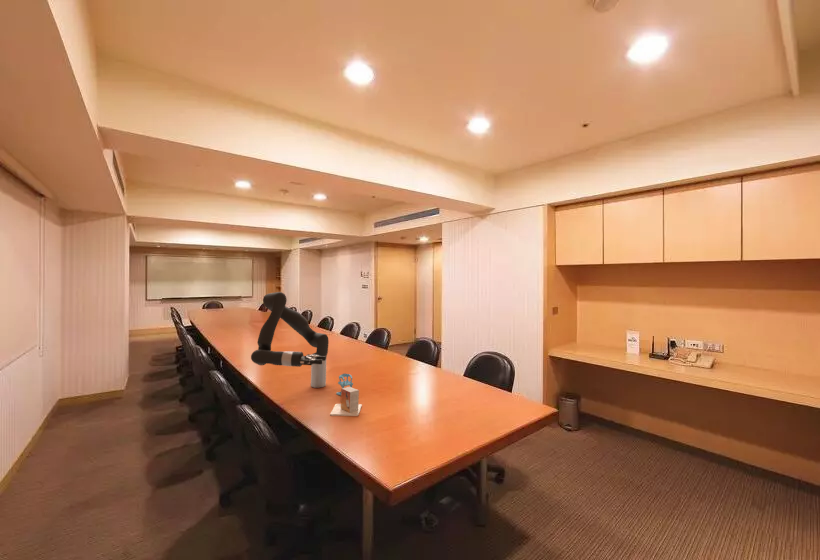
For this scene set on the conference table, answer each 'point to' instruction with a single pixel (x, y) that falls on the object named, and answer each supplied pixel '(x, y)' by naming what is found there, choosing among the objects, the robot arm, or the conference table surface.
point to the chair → (344, 383)
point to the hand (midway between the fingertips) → (324, 360)
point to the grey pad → (340, 412)
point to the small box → (349, 399)
